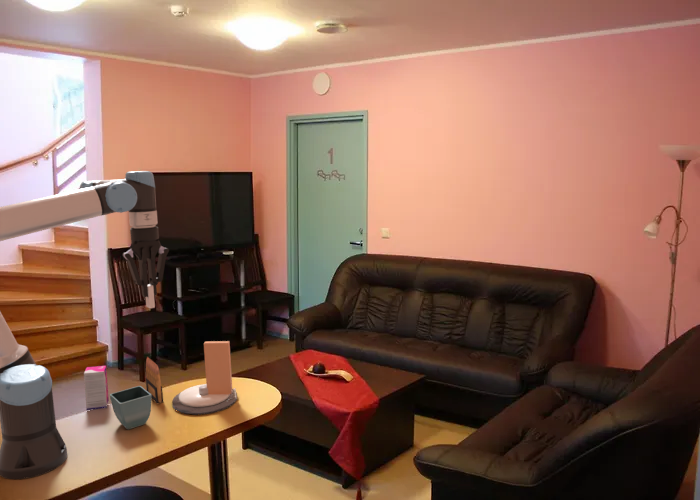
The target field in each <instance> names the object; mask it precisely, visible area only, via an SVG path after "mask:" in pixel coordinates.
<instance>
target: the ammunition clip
mask: <svg viewBox="0 0 700 500" xmlns="http://www.w3.org/2000/svg"><path fill="white" fill-rule="evenodd" d="M145 367H146V368H145V376H146V377H145V384H146V385H145V387H146V391H148V392H149V393H150V394H151V395H152V396H151V400H153V401H154V402H155V403H156V404H157V405H159V404H162V403H164V394H163V385H162V382H161V375H160V369H159V365H158V364H156V362H154V361H153V359H151V358H150V357H149V356H146V361H145Z"/></svg>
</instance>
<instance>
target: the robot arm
mask: <svg viewBox="0 0 700 500" xmlns="http://www.w3.org/2000/svg"><path fill="white" fill-rule="evenodd" d="M124 174H125V175H124V176H125V177H124V178H121V179H100V180H97V179H96V180H95V179H93V180H86V181H82V182H81V184H80V185H79V189H75V190H71V191H67V192H62V193H57V194H54V195H49V196H44V197H43V196H42V197H39V198H34V199H31V200H26V201H21V202H16V203H13V204H12V203H11V204H8V205H3V206H0V242H2V241H7V240H10V239H11V240H12V239H14V238H19V237H23V236H27V235H30V234H34V233H37V232H43V231H45V230H49V229H54V228H58V227H62V226H65V225H70V224H74V223H77V222H81V221H86V220H89V219H92V218H96V217H102V216H104V215H105V216H106V215H110V214H114V213H120V214H121V213H126V212H128V217H129V218H128V220H129V226H130V228H129V231H130V232H129V233H130V247H129V249H128V250H127V251H126V252H123V253H122V257H123V258H124V259H125V260H126V263H127V265H128V269H129V271H130V274H131V277H132V279H133V284H135V285H138V286H141V295H142V297H144V298H145V306H146V308H148V309H155V308H156V303H155V296H157V295H158V289H157V286H158V283H160V282H163V279H164V274H165V273H164V272H165V268H166V267H165V265H166V261H167V260H166V258H167V255H168V253H169V252H170V248H169V247H164V246H162V244H161V242H160V240H159V239H160V233H159V227H158V226H157V225H158V211H157V200H156V198H157V197H156V183H155V178H154V177H155V176H154V174H153V172H152V171H150V170H149V171H148V170H140V171H139V170H137V171H127V172H126V173H124ZM157 254H158V258H157V263H156V256H157ZM134 255H135V257H137V261H138V267H139V268H138V269H139V271H138V269H137V265H136V262H135V260H134ZM156 264H157V265H156ZM6 321H7V320H6V319H5V317H4V315H3V314H2V312H1V311H0V430H1V437H2V440H1V445H0V477H2V478H4V479H8V480H21V479H22V480H23V479H30V478H34V477H38V476H41V475H44V474H47V473H49V472H51V471H53V470H55V469H57V468H59V467H60V466H61V465H63V464H64V462H65V461H66V460H67V458H68V449H67V448H68V447H67V445H66V443H65V441H64V439H63V437H62V435H61V434H60V432H59V429H58V428H57V424H56V423H57V422H56V414H55V411H56V410H55V405H54V396H53V380H52V377H51V373H50V371H49V369H48V368H46V367H45V366H43V365H40V364H39V365H38V364H37V363H36V361H35V359H34V358H33V356H32V354H31V352H30V351H29V347H28V346H27V345H24V344H23V345H22V344H19V343H18V342H17V340H16V338H15V336H14V334H13V333H12V329H10V327H9V325H8V323H7V322H6Z"/></svg>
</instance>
